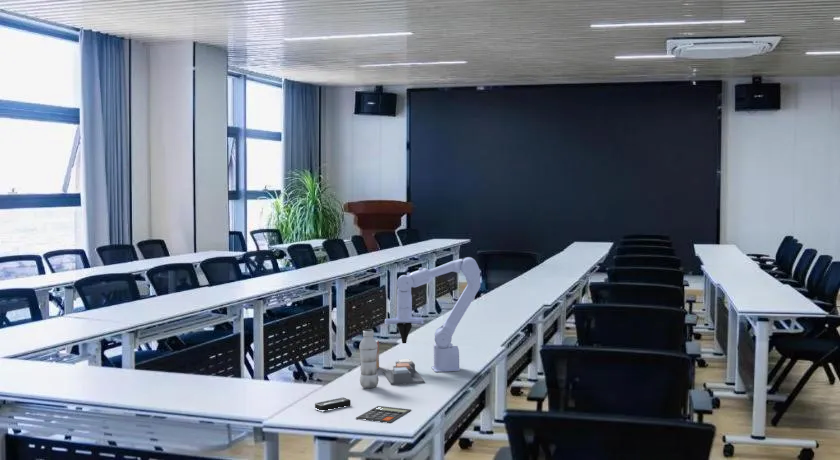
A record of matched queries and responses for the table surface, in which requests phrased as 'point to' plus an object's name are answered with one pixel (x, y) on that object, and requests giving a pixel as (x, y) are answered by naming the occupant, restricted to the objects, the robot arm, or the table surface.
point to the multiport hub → (333, 404)
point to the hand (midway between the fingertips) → (404, 342)
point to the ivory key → (405, 361)
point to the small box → (377, 355)
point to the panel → (404, 376)
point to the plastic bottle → (368, 360)
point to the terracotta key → (403, 365)
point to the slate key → (400, 370)
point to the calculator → (384, 414)
